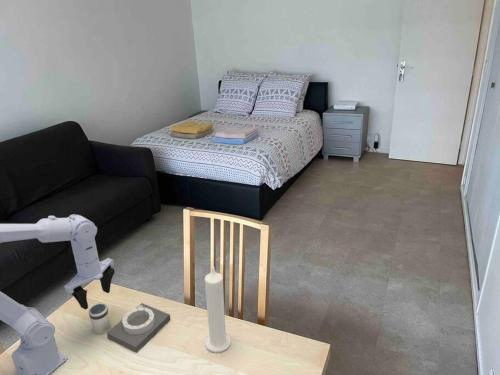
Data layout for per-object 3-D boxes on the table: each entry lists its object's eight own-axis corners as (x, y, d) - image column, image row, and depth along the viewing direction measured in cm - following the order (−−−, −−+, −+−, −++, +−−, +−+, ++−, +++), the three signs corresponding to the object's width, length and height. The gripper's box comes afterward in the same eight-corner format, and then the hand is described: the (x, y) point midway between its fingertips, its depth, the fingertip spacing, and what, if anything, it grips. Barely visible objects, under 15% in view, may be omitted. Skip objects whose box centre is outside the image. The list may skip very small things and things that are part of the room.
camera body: (136, 352, 102) (134, 341, 101) (107, 338, 107) (105, 327, 105) (170, 319, 113) (169, 309, 112) (142, 308, 118) (141, 297, 117)
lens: (101, 337, 108) (96, 317, 105) (89, 331, 110) (84, 311, 107) (114, 325, 112) (111, 306, 109) (102, 320, 114) (98, 300, 111)
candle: (227, 354, 101) (222, 276, 91) (201, 351, 102) (194, 273, 92) (233, 335, 107) (230, 260, 97) (209, 331, 109) (203, 257, 99)
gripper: (73, 277, 94) (84, 320, 99) (118, 248, 105) (125, 289, 111) (55, 269, 97) (66, 311, 102) (100, 242, 108) (108, 282, 114)
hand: (95, 299), depth 107 cm, fingers open, 7 cm apart
